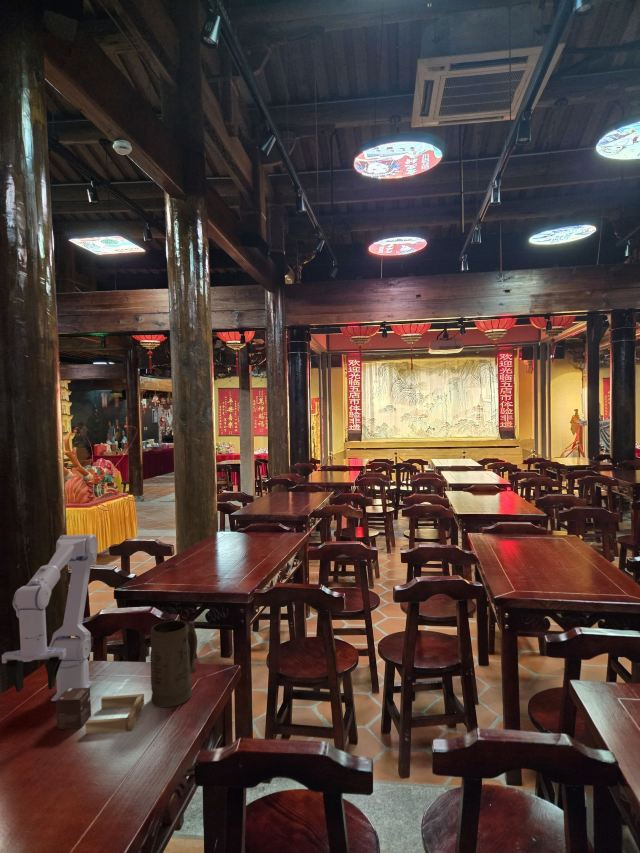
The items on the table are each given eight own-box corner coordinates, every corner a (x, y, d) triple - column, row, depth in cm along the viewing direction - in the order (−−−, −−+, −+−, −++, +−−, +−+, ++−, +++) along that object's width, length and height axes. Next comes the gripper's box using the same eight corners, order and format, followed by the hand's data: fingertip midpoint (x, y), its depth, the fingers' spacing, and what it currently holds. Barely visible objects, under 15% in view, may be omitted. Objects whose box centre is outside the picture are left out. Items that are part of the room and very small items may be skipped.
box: (80, 728, 130) (79, 699, 130) (56, 729, 130) (55, 700, 130) (91, 715, 136) (90, 687, 136) (68, 715, 136) (67, 687, 136)
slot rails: (103, 707, 140) (102, 696, 140) (144, 704, 141) (143, 693, 141) (85, 734, 127) (85, 723, 127) (130, 731, 128) (130, 719, 128)
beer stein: (174, 712, 136) (175, 633, 137) (141, 705, 140) (141, 628, 141) (207, 687, 151) (207, 616, 152) (175, 682, 154) (176, 612, 155)
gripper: (-6, 643, 126) (-4, 699, 126) (56, 638, 127) (59, 694, 127) (9, 631, 133) (11, 684, 133) (68, 627, 134) (70, 680, 134)
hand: (35, 688), depth 130 cm, fingers open, 7 cm apart
